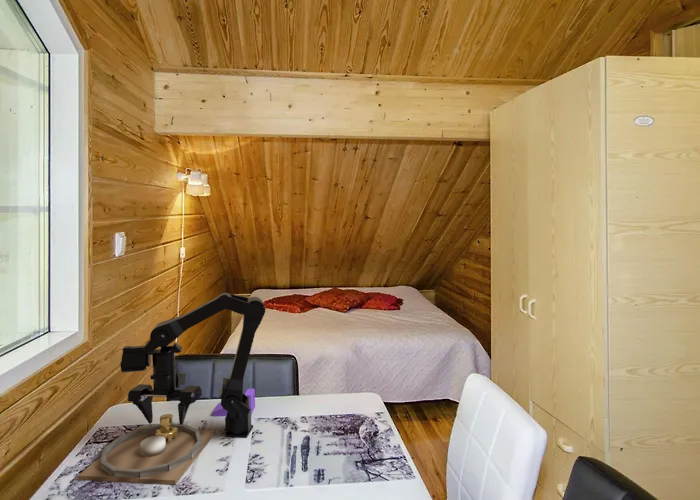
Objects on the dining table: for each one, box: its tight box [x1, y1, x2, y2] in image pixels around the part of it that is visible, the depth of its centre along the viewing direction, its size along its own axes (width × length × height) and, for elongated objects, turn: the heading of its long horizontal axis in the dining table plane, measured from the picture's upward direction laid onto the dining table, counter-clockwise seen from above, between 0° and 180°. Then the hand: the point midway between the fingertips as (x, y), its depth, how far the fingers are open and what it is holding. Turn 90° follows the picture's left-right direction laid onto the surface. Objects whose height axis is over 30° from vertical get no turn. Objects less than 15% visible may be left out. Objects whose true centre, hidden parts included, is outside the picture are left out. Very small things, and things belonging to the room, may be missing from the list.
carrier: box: [77, 423, 217, 485], centre depth 114 cm, size 24×24×4 cm
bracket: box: [211, 388, 256, 417], centre depth 139 cm, size 12×7×7 cm, turn 92°
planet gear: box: [155, 413, 178, 442], centre depth 120 cm, size 6×6×6 cm
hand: (166, 423), depth 120 cm, fingers open, 9 cm apart
